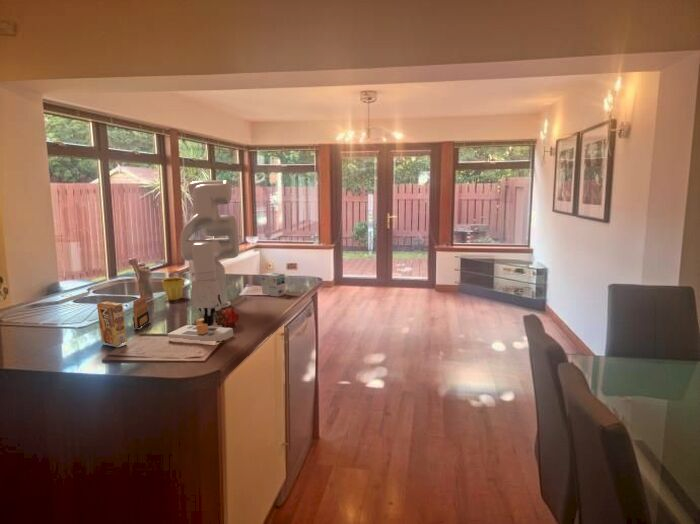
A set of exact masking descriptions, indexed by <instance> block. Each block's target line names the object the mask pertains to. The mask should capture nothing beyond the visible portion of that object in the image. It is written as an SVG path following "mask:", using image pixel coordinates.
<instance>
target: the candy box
mask: <svg viewBox="0 0 700 524" xmlns="http://www.w3.org/2000/svg"><path fill="white" fill-rule="evenodd" d="M96 307H97V314H98V322H99V329H100V330H99V331H100V336H101V337H100V338H101V343H102V342H105V343H108V344H113V345H119V344H122V343H124V342H127V343H128V340H127V333H126V325H125V317H124V308H123V303H121V302H111V301H104V302H99V303H97V304H96Z"/></svg>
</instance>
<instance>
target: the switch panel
mask: <svg viewBox="0 0 700 524" xmlns="http://www.w3.org/2000/svg"><path fill="white" fill-rule="evenodd" d="M168 337H169V338H183V339H189V340H200V341H222V340H225V341H227V340H229V339H231V338H232V337H234V327H228V328H223V327H222V326H208V332H207V333H205V334H197V325H190V324H186V325H184V326H181V327H179V328H177V329H175V330H173V331H170V332H169V333H167V338H168ZM230 337H231V338H230ZM228 338H229V339H228ZM226 339H227V340H226Z"/></svg>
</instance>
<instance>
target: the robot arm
mask: <svg viewBox="0 0 700 524" xmlns="http://www.w3.org/2000/svg"><path fill="white" fill-rule="evenodd" d="M232 189H233V188H232V185H231V183H230V181H228V180H227V179H219V180H218V179H217V180H216V179H215V180H211V179H210V180H207V179H206V180H194V181H191V182H189V183H188V192H189V195H190V196H191V197H192V217H191V218H190V219H189V220H188V221H187V222H186V223H185V225H184V226H183V228H182V230H181V233H180V255H181V258H182V259H184V260H186V261H189V260H193V267H194V273H192V276H194V279H195V280H193V282H191V293H190V294H191V305H192V307H193V308H194V309H195V310H198V311H199V312H200V313H201V315H202V316H203V318H204V323H205V324H207V325H208V327H212V326H213V325H214V319H215V318H214V314H216V312H219V311H221V310H222V309H224V308H229V307H230V306H231V304H232V303H231V301H229V300H228V297H227V295H228V294H227V284H226V283H227V281H226V270H225V266H224V265H223V264H222V262H221V261H220V260H223V259H235V258H236V257H238V256H239V254H240V243H239V242H240V241H239V230H238V221H237V219H236V216H233V215H231V214H220V211H219V205H220V206H221V205H222V206H223V205H228V204H230V203H231V200H232V193H233V190H232ZM198 231H200V232H201V234H202V235H203V236H204V237H209V238H205V239H192V240H190V239H191V237H192V235H193V234H195V233H197V232H198ZM211 237H212V238H211ZM213 237H214V238H213ZM189 238H190V239H189Z"/></svg>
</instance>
